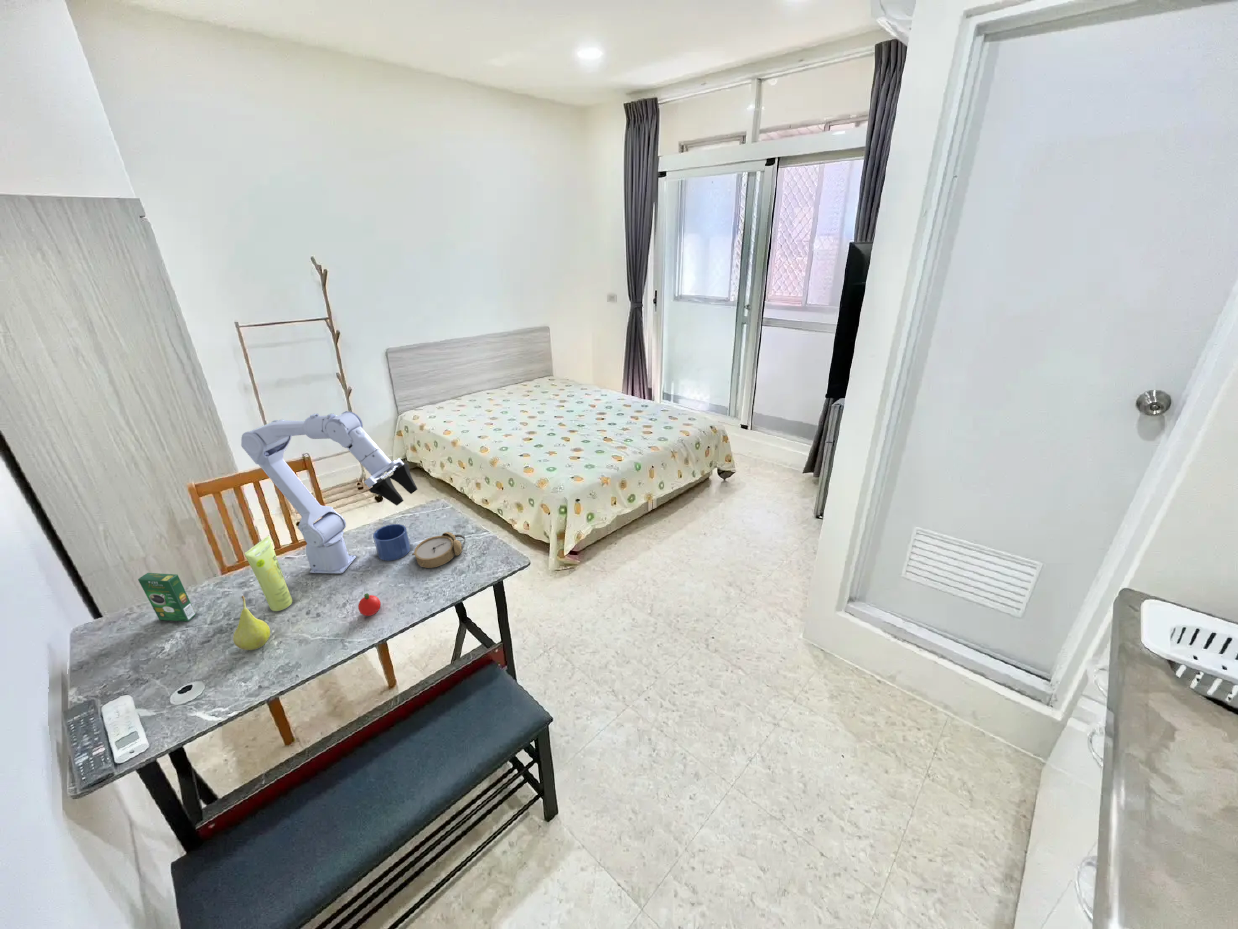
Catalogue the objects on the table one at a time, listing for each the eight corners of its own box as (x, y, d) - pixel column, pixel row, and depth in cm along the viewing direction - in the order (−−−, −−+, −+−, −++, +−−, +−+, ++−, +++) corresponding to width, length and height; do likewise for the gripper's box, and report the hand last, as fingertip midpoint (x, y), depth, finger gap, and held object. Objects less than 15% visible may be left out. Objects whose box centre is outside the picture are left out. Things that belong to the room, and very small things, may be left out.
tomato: (357, 620, 121) (351, 601, 118) (367, 606, 125) (361, 587, 123) (376, 620, 121) (371, 601, 118) (386, 606, 125) (380, 588, 123)
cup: (372, 560, 143) (367, 540, 140) (386, 542, 151) (382, 523, 148) (402, 561, 142) (397, 541, 139) (415, 543, 151) (411, 524, 148)
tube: (293, 608, 125) (269, 545, 116) (270, 616, 122) (243, 553, 114) (292, 595, 129) (269, 534, 120) (270, 603, 127) (244, 541, 118)
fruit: (237, 661, 109) (218, 621, 104) (241, 639, 115) (223, 600, 110) (272, 649, 112) (255, 610, 107) (275, 629, 118) (258, 590, 113)
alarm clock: (407, 547, 143) (454, 522, 151) (413, 559, 146) (459, 534, 153) (421, 565, 136) (469, 538, 143) (427, 578, 138) (474, 550, 146)
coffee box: (199, 614, 123) (178, 573, 117) (189, 622, 120) (167, 580, 115) (169, 612, 123) (147, 571, 118) (158, 621, 121) (135, 579, 115)
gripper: (364, 455, 112) (404, 500, 116) (395, 438, 126) (431, 478, 129) (344, 472, 114) (384, 515, 117) (377, 453, 128) (412, 492, 131)
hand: (407, 497), depth 123 cm, fingers open, 7 cm apart
